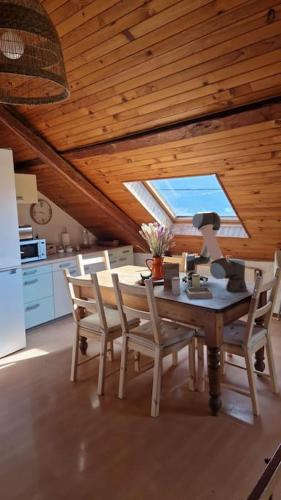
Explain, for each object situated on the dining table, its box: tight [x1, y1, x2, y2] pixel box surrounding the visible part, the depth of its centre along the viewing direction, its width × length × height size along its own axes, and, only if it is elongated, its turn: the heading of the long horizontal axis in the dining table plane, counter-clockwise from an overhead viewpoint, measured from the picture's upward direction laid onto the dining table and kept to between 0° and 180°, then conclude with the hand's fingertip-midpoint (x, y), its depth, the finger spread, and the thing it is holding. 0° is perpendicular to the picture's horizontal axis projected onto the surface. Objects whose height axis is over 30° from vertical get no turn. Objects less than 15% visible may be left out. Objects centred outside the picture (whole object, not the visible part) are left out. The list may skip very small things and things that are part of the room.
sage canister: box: [191, 273, 201, 287], centre depth 263 cm, size 6×6×12 cm
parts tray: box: [185, 286, 213, 299], centre depth 251 cm, size 16×16×4 cm
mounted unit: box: [162, 262, 180, 292], centre depth 267 cm, size 8×12×20 cm, turn 90°
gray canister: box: [171, 277, 181, 296], centre depth 253 cm, size 6×6×12 cm
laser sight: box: [139, 271, 156, 289], centre depth 281 cm, size 10×22×10 cm, turn 14°
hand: (196, 282), depth 259 cm, fingers open, 12 cm apart
